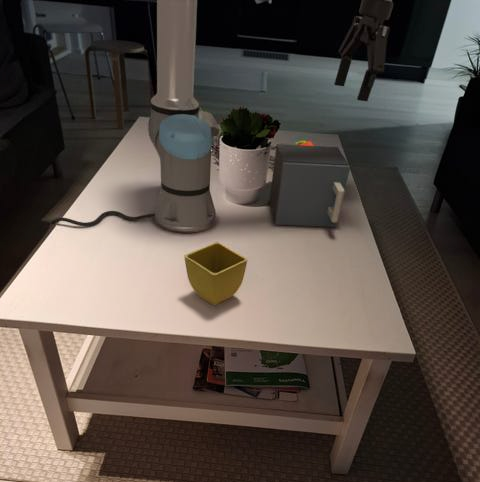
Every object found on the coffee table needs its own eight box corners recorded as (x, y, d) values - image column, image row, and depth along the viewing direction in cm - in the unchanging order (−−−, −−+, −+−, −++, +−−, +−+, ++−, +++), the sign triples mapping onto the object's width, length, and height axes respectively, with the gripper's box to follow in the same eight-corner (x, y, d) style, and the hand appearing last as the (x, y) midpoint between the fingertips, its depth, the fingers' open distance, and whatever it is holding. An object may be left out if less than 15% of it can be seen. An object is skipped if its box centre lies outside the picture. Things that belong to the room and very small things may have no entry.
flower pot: (182, 293, 94) (182, 254, 88) (215, 278, 99) (217, 240, 93) (212, 315, 89) (214, 275, 83) (245, 298, 94) (249, 259, 88)
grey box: (335, 225, 122) (349, 164, 112) (274, 222, 120) (283, 161, 111) (325, 204, 131) (337, 147, 121) (269, 202, 130) (276, 143, 120)
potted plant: (187, 143, 152) (163, 117, 158) (207, 160, 164) (183, 136, 169) (213, 114, 149) (187, 89, 155) (230, 133, 161) (206, 110, 167)
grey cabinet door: (341, 237, 117) (356, 175, 107) (278, 234, 115) (286, 172, 106) (335, 225, 122) (349, 165, 112) (274, 222, 120) (283, 162, 110)
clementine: (291, 165, 153) (294, 143, 149) (288, 157, 158) (291, 136, 154) (315, 167, 154) (319, 145, 149) (312, 159, 159) (315, 137, 155)
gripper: (421, 9, 105) (385, 109, 118) (367, -7, 122) (341, 81, 135) (393, 3, 102) (359, 105, 115) (342, -13, 120) (318, 78, 133)
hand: (350, 92), depth 125 cm, fingers open, 13 cm apart
